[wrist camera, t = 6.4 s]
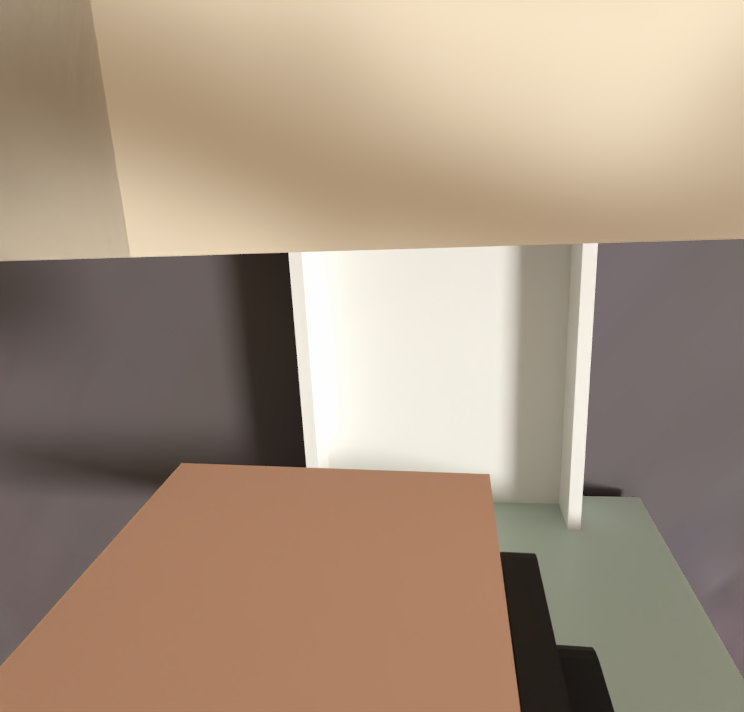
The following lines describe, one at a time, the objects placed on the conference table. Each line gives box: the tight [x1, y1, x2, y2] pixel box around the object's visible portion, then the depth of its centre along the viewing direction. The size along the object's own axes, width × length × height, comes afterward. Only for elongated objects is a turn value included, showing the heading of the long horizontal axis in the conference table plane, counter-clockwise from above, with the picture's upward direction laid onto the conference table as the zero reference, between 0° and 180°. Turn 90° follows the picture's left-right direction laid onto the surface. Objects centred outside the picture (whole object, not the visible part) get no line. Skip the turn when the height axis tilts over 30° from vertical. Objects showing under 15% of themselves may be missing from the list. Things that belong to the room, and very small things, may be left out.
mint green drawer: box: [288, 243, 744, 712], centre depth 20 cm, size 17×17×12 cm
